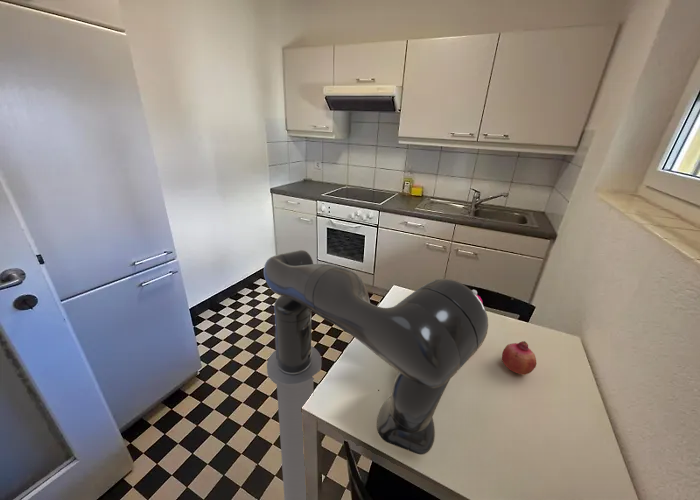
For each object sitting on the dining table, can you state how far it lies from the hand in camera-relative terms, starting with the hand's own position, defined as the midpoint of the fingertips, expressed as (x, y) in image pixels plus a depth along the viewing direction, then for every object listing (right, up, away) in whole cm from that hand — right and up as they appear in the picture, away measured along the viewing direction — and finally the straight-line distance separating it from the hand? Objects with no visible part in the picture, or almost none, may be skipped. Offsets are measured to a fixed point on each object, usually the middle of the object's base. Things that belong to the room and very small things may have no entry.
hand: (421, 323), depth 81 cm
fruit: (+25, -13, -3) cm, 28 cm away
